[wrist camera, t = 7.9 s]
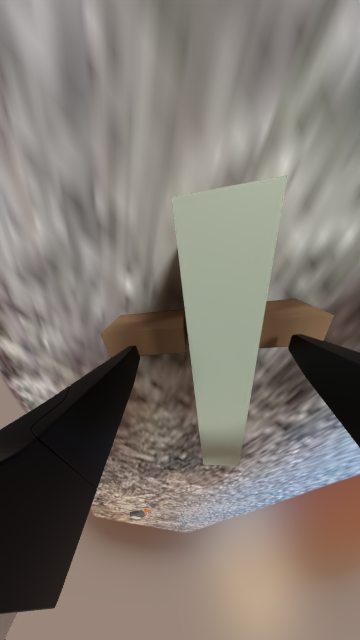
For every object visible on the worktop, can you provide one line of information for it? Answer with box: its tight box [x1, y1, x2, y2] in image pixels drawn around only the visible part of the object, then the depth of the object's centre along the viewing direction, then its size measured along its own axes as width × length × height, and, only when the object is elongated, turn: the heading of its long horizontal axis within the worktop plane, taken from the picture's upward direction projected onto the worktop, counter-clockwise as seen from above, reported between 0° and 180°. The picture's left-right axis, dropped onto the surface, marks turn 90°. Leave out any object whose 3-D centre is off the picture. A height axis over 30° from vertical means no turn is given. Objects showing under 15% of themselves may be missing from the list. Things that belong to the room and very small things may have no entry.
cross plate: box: [172, 176, 287, 466], centre depth 8 cm, size 12×2×7 cm, turn 7°
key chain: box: [130, 510, 156, 519], centre depth 43 cm, size 13×4×2 cm, turn 139°
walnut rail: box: [101, 299, 334, 357], centre depth 10 cm, size 14×2×3 cm, turn 97°
